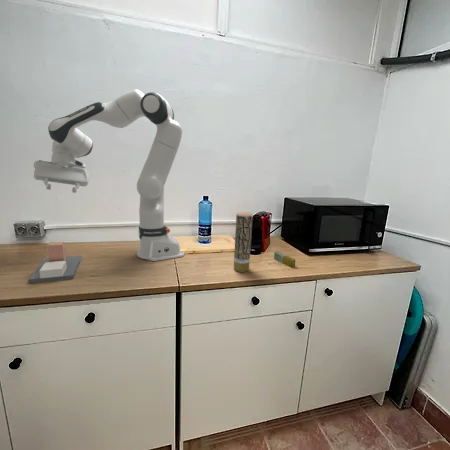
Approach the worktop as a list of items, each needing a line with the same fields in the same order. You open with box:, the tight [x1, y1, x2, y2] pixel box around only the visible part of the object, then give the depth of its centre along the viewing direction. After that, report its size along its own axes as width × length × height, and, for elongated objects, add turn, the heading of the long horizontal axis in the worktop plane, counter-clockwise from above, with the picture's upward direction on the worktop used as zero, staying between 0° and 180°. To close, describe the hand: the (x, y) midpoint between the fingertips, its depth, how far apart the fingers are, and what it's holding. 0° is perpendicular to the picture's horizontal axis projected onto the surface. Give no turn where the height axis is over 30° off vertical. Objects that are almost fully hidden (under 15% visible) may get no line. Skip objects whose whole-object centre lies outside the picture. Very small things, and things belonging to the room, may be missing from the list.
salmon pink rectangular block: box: [47, 241, 67, 261], centre depth 107 cm, size 5×4×9 cm
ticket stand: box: [28, 255, 82, 284], centre depth 107 cm, size 14×22×5 cm, turn 20°
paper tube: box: [233, 211, 254, 273], centre depth 113 cm, size 7×7×25 cm
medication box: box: [273, 251, 296, 269], centre depth 126 cm, size 12×3×4 cm, turn 31°
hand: (61, 190), depth 113 cm, fingers open, 8 cm apart
